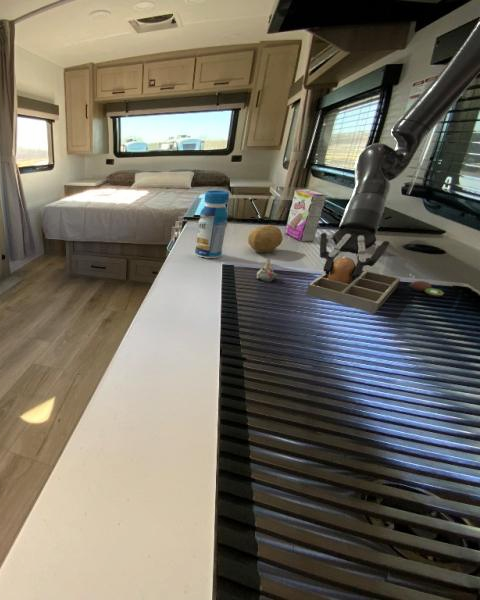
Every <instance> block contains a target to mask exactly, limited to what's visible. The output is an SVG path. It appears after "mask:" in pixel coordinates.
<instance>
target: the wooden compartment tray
mask: <svg viewBox="0 0 480 600" xmlns="http://www.w3.org/2000/svg"><path fill="white" fill-rule="evenodd" d="M325 273H326V272H325V271H324V273H322V274H321V275H320V276H318V277H317V278H315V279H314V280H313V281H311V282H310V283H309V284H308V285H307V288H306V291H305V295H307V296H311V297H314V298H318V299H321V300H325V301H329V302H332V303H335V304H339V305H343V306H346V307H349V308H353V309H356V310H360V311H363V312H367V313H371V314H374V315H375V314H376V313H377V312H378V310H379V309H380V308H381V307H382V306H383V304H384V303H385V302H386V301H387V300H388V298H390V296H391V295H392V294H393V293H394V292H395V290H396V289H397V288H398V285H399V284H400V281H401V278H400V277H397V276H393V275H387V274H383V273H379V272H375V271H368V270H364V269H362V272H361V275H360V276H359V277H358V278H357V277H356V278H355V279H351V281H350V284H346V283H342V282H338V281H334V280H330V279H327V278H328V275H329V274H325Z"/></svg>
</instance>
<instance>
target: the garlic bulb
mask: <svg viewBox="0 0 480 600" xmlns="http://www.w3.org/2000/svg"><path fill="white" fill-rule="evenodd" d="M276 278H278V274H277V273H276V272H274V269H273V266H272V265H271V259H269V258H267V260H266V262H265V265H264V267H261V268H260V270H259V269H258V271H257V272H256V279H257V280H261V281H262V282H265V283H271V282H273V281H274V280H275V279H276Z"/></svg>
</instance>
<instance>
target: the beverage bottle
mask: <svg viewBox="0 0 480 600" xmlns="http://www.w3.org/2000/svg"><path fill="white" fill-rule="evenodd" d="M229 197H230V192H229V191H227V190H217V189H216V190H214V189H213V190H206V191H205V194H204V201H203V202H204V204H205V205H204V206H203V207H202V209H201V211H200V213H199V216H200V218H199V220H198V223H197V225H198V229H197V237H196V244H195V249H194V250H195V251H194V255H196V256H197V257H199V256H200V257H199V258H202V257H204V258H203V259H209V258H213V259H218V258H220V257H221V256H222V253H223V245H224V240H225V234H226V228H227V227H228V220H227V219H228V217H229V210H228V208H227V206H226V205H227V204H228V202H229Z"/></svg>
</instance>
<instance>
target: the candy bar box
mask: <svg viewBox="0 0 480 600" xmlns="http://www.w3.org/2000/svg"><path fill="white" fill-rule="evenodd" d="M327 196H328V195H327V194H325V193H323V192H320V191H319V192H318V191H315V190H312V189H307V188H306V189H295V190H294V192H293V197H292V201H291V205H290V208H289V214H288V218H287V222H286V224H285V225H286V226H285V230H284V234H285V235H287V236H288V237H291V238H293V239H295V240H297V241H299V242H305V243H306V242H307V243H308V242H314V241H315V237H316V234H317V230H318V227H319V224H320V220H321V218H322V217H321V216H322V213H323V210H324V207H325V203H326V200H327Z"/></svg>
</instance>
